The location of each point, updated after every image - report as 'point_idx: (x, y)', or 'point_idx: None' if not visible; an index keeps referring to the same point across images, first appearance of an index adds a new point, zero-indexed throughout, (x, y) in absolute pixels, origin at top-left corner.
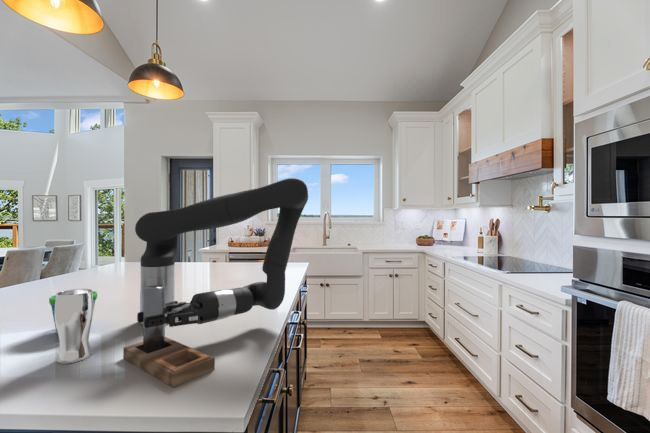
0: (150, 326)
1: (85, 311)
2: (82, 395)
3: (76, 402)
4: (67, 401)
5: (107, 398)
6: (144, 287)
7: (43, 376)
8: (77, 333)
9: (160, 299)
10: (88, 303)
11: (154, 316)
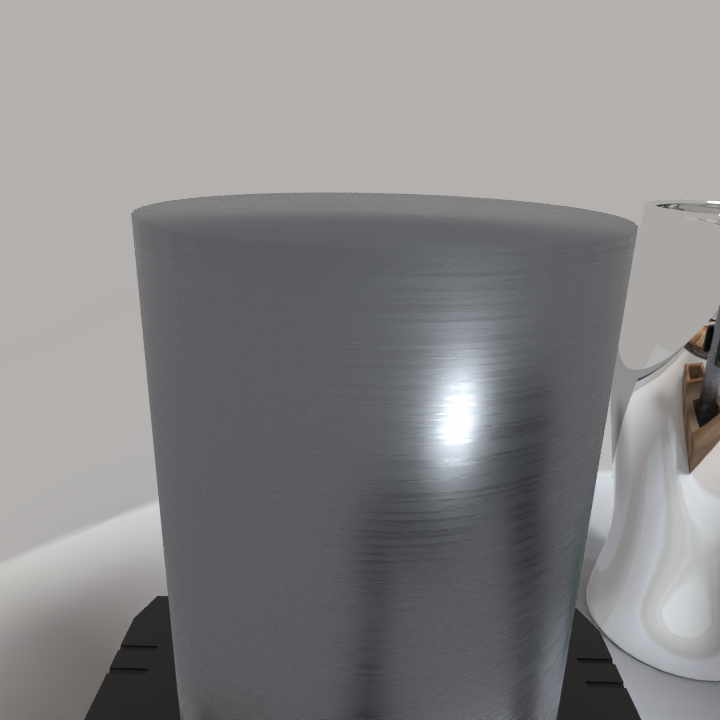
0: None
1: (657, 353)
2: (155, 582)
3: (116, 563)
4: (159, 548)
5: (8, 637)
6: (482, 199)
7: None
8: (620, 469)
9: (157, 479)
10: (695, 308)
11: (160, 641)
